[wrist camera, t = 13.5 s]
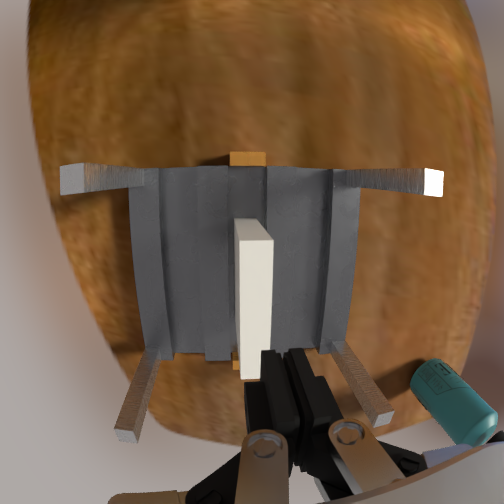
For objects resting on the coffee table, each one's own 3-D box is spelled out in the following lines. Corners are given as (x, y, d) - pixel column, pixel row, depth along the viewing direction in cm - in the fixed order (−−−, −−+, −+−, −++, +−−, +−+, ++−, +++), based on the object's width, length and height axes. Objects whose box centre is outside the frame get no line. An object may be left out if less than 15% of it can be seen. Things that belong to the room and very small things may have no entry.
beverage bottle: (399, 391, 36) (467, 483, 16) (408, 357, 34) (492, 450, 15) (432, 379, 36) (502, 458, 17) (442, 345, 35) (526, 423, 15)
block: (234, 218, 27) (239, 240, 17) (255, 218, 27) (273, 240, 17) (235, 317, 29) (240, 379, 19) (254, 317, 29) (268, 377, 20)
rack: (135, 158, 25) (60, 143, 12) (350, 159, 27) (442, 151, 14) (153, 356, 30) (123, 449, 17) (334, 349, 32) (385, 432, 19)
